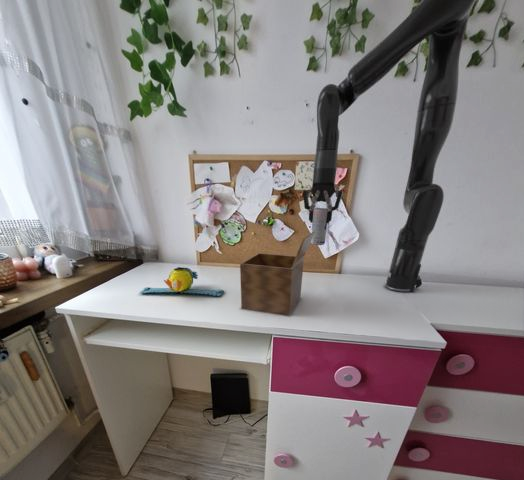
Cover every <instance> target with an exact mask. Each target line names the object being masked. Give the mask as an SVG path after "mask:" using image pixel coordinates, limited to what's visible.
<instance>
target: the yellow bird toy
mask: <svg viewBox="0 0 524 480" xmlns="http://www.w3.org/2000/svg"><path fill="white" fill-rule="evenodd" d="M198 276H199V275H198V272H197V271H193V270H192V269H191V268H190V267H185V266H184V267H181V266H177V267H176V268H173V270H172V271H170V273H169V275H168V278H167V279H163V282H164V283H165V284H166V285H167V286H168V287H144V288H143V290H141V291H140V292H139V294H148V293H185V294H197V295H198V294H200V295H209V296H214V297H215V296H217V297H220V296H221V295H223V293H224V292H225V291H224V290H223V289H202V288H191V287H192V285H193V284H194V280H197V279H198V278H199V277H198Z"/></svg>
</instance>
